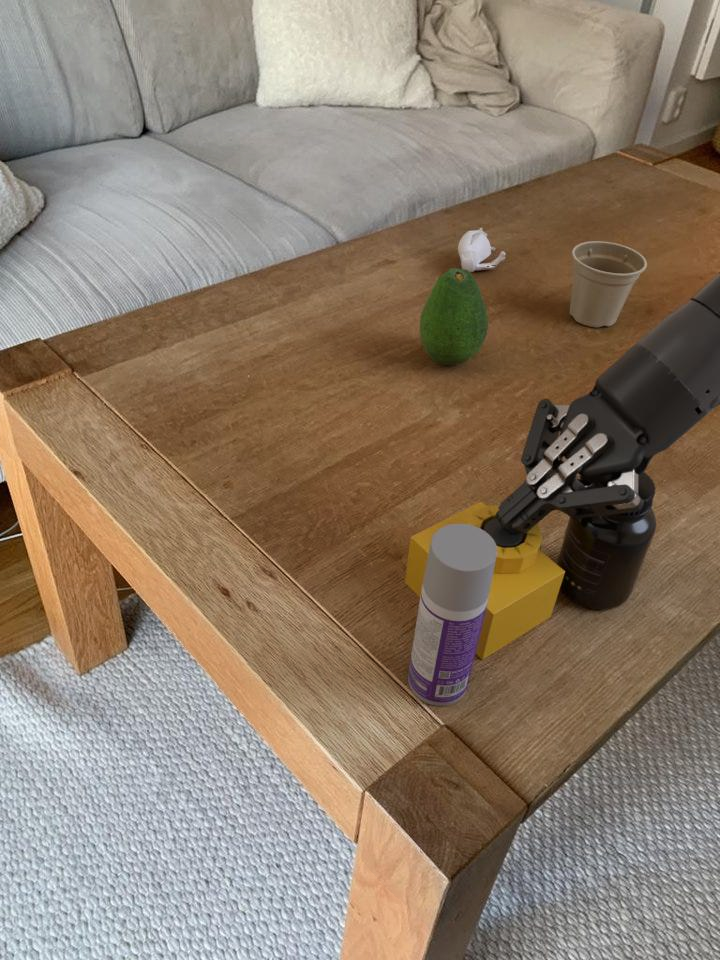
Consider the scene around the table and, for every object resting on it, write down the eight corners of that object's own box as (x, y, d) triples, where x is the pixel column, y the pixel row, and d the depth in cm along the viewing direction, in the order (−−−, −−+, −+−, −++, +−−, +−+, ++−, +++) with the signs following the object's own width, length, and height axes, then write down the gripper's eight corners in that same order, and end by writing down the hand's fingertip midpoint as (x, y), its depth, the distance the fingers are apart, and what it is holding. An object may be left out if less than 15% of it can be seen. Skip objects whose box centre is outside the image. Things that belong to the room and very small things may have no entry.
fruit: (494, 361, 100) (511, 270, 92) (457, 388, 95) (472, 294, 87) (440, 337, 103) (452, 248, 96) (402, 361, 99) (412, 269, 91)
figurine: (519, 244, 121) (500, 277, 113) (481, 259, 125) (460, 291, 116) (503, 207, 119) (483, 237, 110) (465, 223, 122) (442, 254, 114)
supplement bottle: (584, 544, 76) (617, 444, 69) (645, 588, 73) (688, 487, 65) (536, 578, 73) (565, 476, 65) (598, 625, 69) (637, 523, 61)
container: (472, 664, 65) (504, 530, 56) (461, 713, 62) (493, 579, 52) (415, 650, 66) (436, 515, 56) (401, 697, 63) (422, 562, 53)
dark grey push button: (527, 550, 67) (531, 535, 66) (499, 566, 66) (503, 551, 65) (500, 527, 69) (504, 512, 68) (472, 542, 68) (475, 527, 67)
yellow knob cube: (555, 614, 70) (575, 553, 65) (482, 660, 66) (497, 598, 61) (476, 544, 76) (488, 483, 71) (404, 582, 72) (412, 520, 67)
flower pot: (623, 303, 113) (640, 244, 107) (634, 338, 106) (653, 277, 100) (555, 296, 113) (568, 237, 108) (561, 331, 106) (576, 270, 100)
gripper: (604, 307, 64) (443, 457, 68) (716, 402, 55) (523, 569, 59) (640, 354, 69) (489, 492, 73) (748, 449, 60) (568, 599, 64)
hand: (504, 526), depth 66 cm, fingers closed
